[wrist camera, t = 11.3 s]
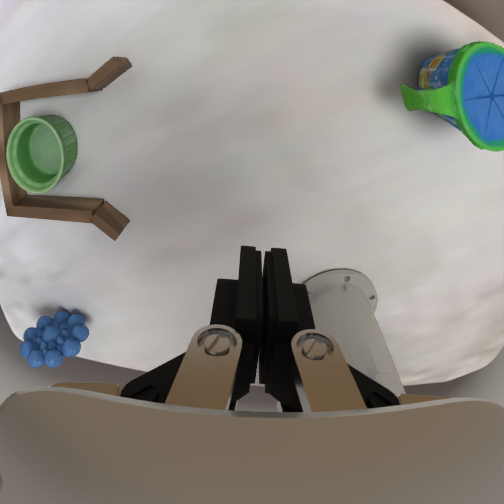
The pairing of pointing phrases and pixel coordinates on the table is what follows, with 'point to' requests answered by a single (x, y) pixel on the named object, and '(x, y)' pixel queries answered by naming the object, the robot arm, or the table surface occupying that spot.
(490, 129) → the snack cup
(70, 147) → the ramekin
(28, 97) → the walnut holder
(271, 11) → the table surface
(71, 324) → the grapes
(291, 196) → the table surface
